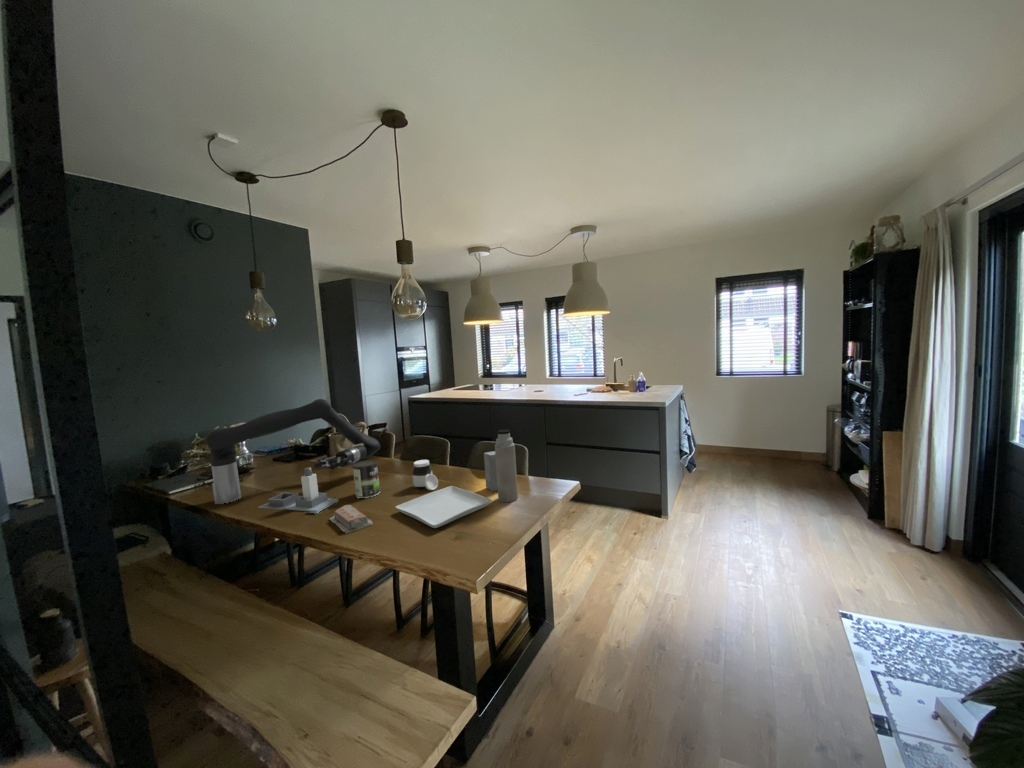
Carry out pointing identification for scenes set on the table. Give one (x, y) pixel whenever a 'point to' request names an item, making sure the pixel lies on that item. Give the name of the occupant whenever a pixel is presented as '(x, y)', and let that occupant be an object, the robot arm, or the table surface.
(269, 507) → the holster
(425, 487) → the spread jar
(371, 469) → the coffee can
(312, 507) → the panel
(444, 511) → the square plate
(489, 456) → the skincare box
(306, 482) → the plug
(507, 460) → the thermos bottle
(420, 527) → the table surface
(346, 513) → the packaged product
